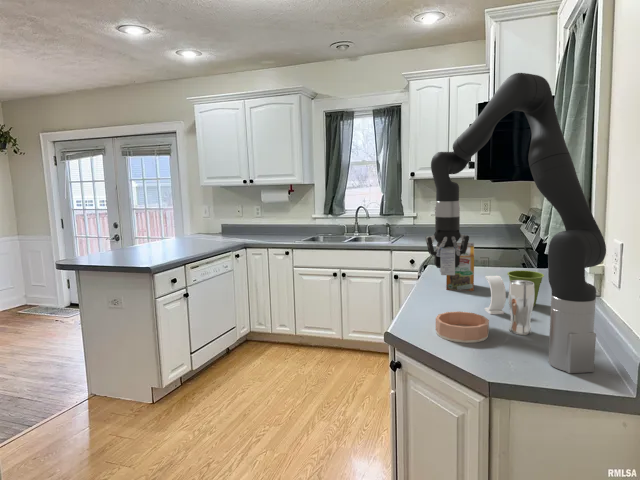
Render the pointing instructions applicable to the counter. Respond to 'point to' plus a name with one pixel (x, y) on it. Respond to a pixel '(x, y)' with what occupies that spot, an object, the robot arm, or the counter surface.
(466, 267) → the milk carton
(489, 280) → the headphone stand
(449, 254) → the medicine box
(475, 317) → the bowl
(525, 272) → the plant pot
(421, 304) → the counter surface
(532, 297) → the beer glass
